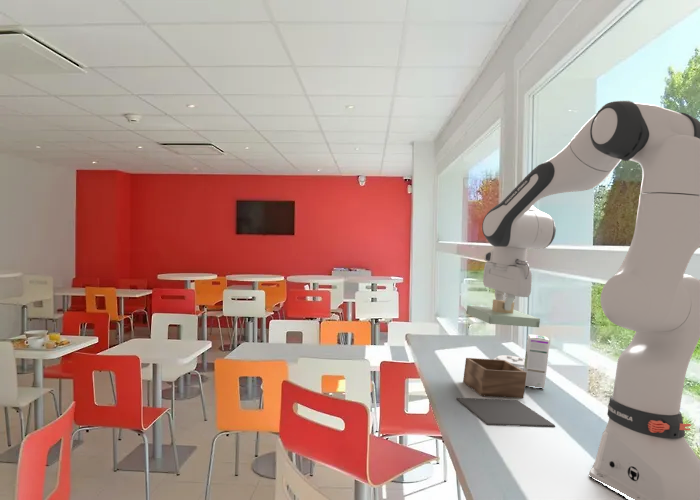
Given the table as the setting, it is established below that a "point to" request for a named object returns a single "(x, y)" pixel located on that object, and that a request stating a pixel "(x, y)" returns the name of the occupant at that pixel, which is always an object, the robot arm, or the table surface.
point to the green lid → (502, 315)
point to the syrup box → (536, 360)
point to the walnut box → (494, 378)
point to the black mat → (504, 412)
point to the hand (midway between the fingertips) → (502, 308)
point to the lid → (512, 360)
